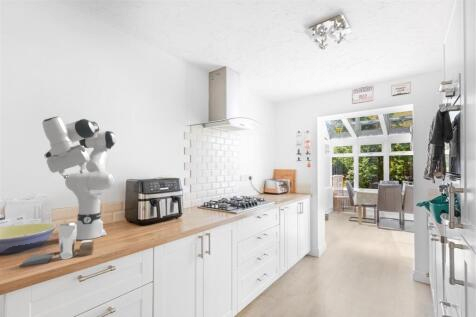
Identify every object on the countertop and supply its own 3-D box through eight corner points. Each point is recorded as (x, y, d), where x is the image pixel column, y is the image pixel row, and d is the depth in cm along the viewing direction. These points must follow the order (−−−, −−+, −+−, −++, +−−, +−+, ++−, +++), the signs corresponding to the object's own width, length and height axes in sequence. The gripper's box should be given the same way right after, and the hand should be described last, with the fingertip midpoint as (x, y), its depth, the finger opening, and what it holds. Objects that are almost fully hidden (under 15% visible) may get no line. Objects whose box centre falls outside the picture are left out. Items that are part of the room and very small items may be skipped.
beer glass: (54, 257, 106) (56, 224, 107) (72, 253, 112) (73, 221, 113) (61, 261, 103) (62, 226, 103) (78, 256, 108) (80, 223, 109)
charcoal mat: (31, 256, 108) (31, 255, 108) (55, 253, 111) (55, 252, 111) (20, 266, 97) (20, 265, 97) (47, 262, 100) (47, 261, 100)
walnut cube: (81, 252, 113) (81, 242, 113) (93, 251, 115) (93, 241, 115) (79, 256, 108) (79, 245, 109) (91, 254, 110) (92, 244, 111)
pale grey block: (82, 248, 120) (82, 240, 120) (91, 247, 122) (91, 239, 122) (79, 252, 114) (80, 243, 115) (89, 250, 116) (89, 242, 116)
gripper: (86, 142, 115) (97, 168, 117) (52, 154, 118) (63, 179, 120) (77, 144, 109) (88, 171, 111) (40, 156, 112) (52, 182, 114)
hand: (75, 175), depth 115 cm, fingers open, 8 cm apart
